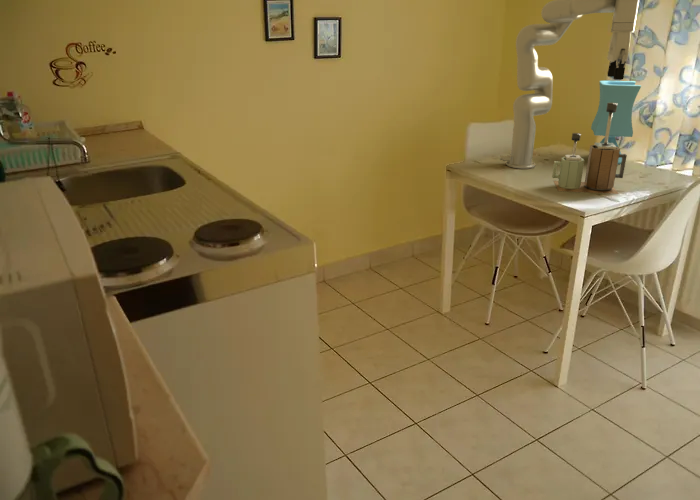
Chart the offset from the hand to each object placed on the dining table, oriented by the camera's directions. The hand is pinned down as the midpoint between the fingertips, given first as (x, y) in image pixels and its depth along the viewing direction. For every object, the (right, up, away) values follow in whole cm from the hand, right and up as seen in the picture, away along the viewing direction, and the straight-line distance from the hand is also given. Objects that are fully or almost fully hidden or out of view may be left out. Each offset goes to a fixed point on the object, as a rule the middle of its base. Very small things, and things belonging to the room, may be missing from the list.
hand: (615, 77), depth 211 cm
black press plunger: (0, -28, +10) cm, 29 cm away
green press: (-12, -38, +17) cm, 43 cm away
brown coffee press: (+2, -39, +15) cm, 41 cm away
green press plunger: (-11, -31, +14) cm, 35 cm away
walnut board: (-5, -39, +16) cm, 43 cm away
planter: (+23, -21, +58) cm, 66 cm away
